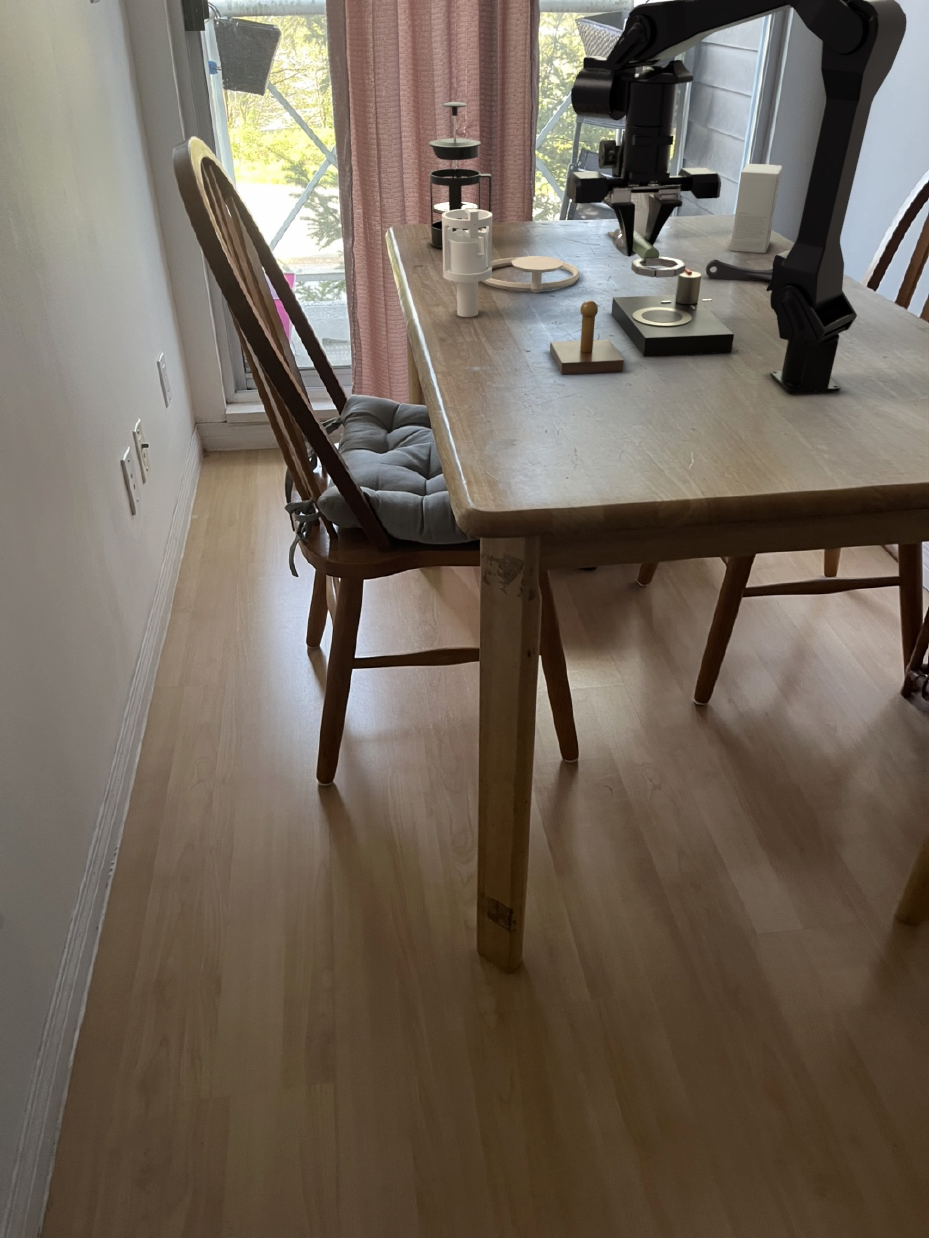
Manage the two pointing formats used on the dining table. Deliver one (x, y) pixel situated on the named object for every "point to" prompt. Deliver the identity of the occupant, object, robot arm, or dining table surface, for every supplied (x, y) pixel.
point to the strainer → (467, 254)
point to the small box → (755, 207)
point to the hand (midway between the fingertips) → (637, 255)
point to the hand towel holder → (534, 273)
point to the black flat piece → (736, 272)
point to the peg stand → (586, 349)
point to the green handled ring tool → (648, 257)
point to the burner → (662, 316)
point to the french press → (454, 176)
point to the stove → (672, 328)
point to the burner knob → (688, 287)
